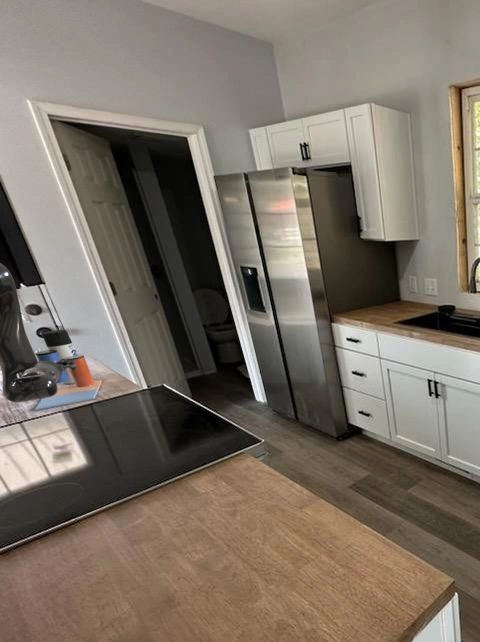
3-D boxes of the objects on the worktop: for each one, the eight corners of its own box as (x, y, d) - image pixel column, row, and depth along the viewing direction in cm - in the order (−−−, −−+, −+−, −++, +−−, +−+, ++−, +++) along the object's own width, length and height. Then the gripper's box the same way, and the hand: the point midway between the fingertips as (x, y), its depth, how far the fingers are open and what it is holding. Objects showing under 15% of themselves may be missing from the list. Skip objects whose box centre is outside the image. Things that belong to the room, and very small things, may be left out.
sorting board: (35, 410, 133) (34, 409, 133) (50, 391, 151) (49, 389, 150) (94, 399, 141) (93, 397, 141) (101, 381, 159) (101, 380, 159)
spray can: (85, 381, 159) (64, 331, 152) (61, 385, 156) (38, 334, 149) (90, 377, 164) (69, 328, 157) (66, 381, 161) (44, 331, 154)
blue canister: (46, 385, 142) (33, 354, 138) (49, 381, 146) (36, 351, 142) (68, 381, 145) (55, 351, 141) (70, 378, 149) (57, 348, 145)
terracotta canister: (75, 388, 151) (62, 359, 147) (77, 384, 154) (65, 356, 151) (94, 384, 154) (82, 356, 150) (96, 381, 157) (84, 353, 154)
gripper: (69, 359, 135) (77, 349, 148) (4, 368, 127) (18, 357, 140) (78, 380, 138) (85, 368, 150) (15, 391, 130) (28, 377, 142)
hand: (52, 363), depth 145 cm, fingers closed on blue canister, 5 cm apart
